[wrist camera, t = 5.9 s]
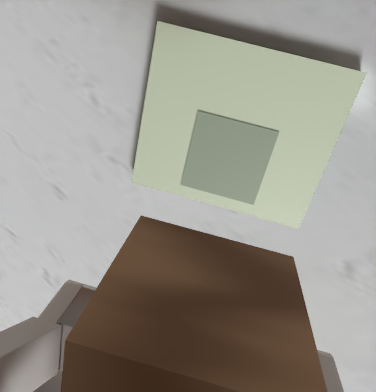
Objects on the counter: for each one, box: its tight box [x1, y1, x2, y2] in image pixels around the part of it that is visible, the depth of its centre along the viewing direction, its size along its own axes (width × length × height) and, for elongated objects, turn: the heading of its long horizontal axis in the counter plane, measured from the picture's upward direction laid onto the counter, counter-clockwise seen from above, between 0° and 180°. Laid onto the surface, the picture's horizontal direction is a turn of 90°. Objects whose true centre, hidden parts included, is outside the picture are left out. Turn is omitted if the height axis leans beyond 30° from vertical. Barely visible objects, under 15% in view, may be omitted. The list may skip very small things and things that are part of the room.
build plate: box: [132, 21, 366, 229], centre depth 24 cm, size 14×12×1 cm
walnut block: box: [61, 216, 327, 392], centre depth 9 cm, size 5×5×5 cm
